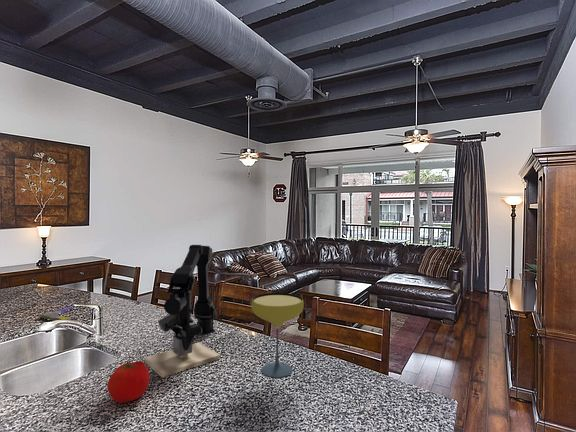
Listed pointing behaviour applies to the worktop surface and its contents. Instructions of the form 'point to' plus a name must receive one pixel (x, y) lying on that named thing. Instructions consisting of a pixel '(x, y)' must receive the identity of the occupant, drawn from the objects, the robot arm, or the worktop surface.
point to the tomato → (128, 382)
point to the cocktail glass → (277, 322)
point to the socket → (180, 345)
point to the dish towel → (54, 314)
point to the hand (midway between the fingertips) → (182, 348)
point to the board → (181, 360)
